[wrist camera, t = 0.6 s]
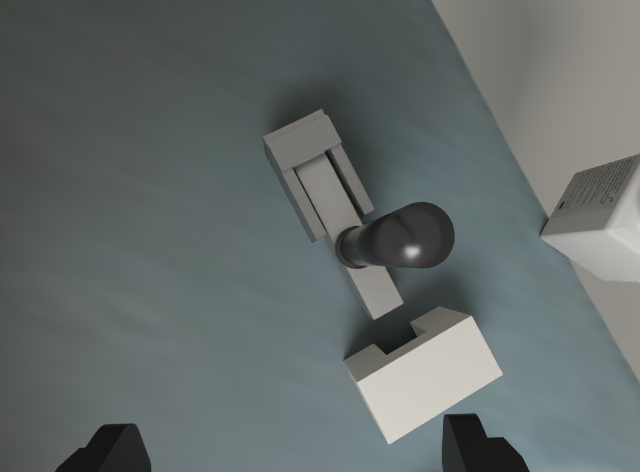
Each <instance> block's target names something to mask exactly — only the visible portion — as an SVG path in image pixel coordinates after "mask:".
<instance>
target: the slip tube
mask: <svg viewBox="0 0 640 472" xmlns="http://www.w3.org/2000/svg"><path fill="white" fill-rule="evenodd" d="M292 169H293V170H294V172H295V174H296V176H297V178H298V180H299V182H300V184H301V186H302V188H303V189H304V191H305V193H306V195H307V197H308V199H309V201H310V203H311V205H312V207H313V209H314V210H315V212H316V214H317V216H318V218H319V220H320V222H321V224H322V226H323V228H324V230H325V231H326V233H327V235H325V237H326V239H327V241H328V243H329V245H330V247H331V249H332V251H333V253H334V255H335V257H336V258H337V260H338V262H339V264H340V266H341V268H342V270H343V272H344V274H345V276H346V278H347V279H348V281H349V283H350V285H351V287H352V289H353V291H354V293H355V295H356V297H357V299H358V300H359V302H360V304H361V306H362V308H363V310H364V312H365V314H366V315H367V316H368V317H370V318H372V319H373V320H375V319H377V318H379V317H380V316H382V315H384V314H386V313H388V312H389V311H391V310H393V309H395V308H396V307H398V306H400V305H402V304H403V303H404V302H403V301H402V299H401V297H400V295H399V293H398V291H397V289H396V287H395V285H394V283H393V281H392V280H391V278H390V276H389V274H388V272H387V270H386V268H385V267H407V268H430V267H433V266H436V265H438V264H440V263H441V262H443V261H444V260H445V259H446V258H447V257H448V255H449V254H450V252H451V250H452V248H453V245H454V238H455V234H454V227H453V224H452V222H451V220H450V218H449V216H448V215H447V214H446V213H445V212H444V211H443V210H442V209H441V208H439V207H438V206H436V205H434V204H431V203H427V202H416V203H412V204H410V205H407V206H405V207H403V208H401V209H398V210H396V211H394V212H392V213H390V214H387V215H385V216H383V217H381V218H378V219H376V220H374V221H372V222H369V223H367V224H365V225H363V224H362V223H361V221H360V219H359V217H358V215H357V213H356V211H355V209H354V207H353V205H352V204H351V202H350V200H349V198H348V196H347V194H346V192H345V190H344V188H343V186H342V185H341V183H340V181H339V179H338V177H337V175H336V173H335V171H334V169H333V167H332V166H331V164H330V162H329V160H328V158H327V156H326V154H325V152H324V153H322V154H320V155H318V156H316V157H314V158H312V159H310V160H308V161H306V162H304V163H302V164H300V165H298V166H296V167H294V168H292Z"/></svg>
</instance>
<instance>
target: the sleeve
mask: <svg viewBox="0 0 640 472" xmlns="http://www.w3.org/2000/svg"><path fill="white" fill-rule="evenodd" d="M263 141H264V148H265V154H266V156H267V158H268V160H269V162H270V164H271V166H272V167H273V169H274V171H275V173H276V175H277V177H278V179H279V181H280V183H281V185H282V187H283V189H284V190H285V192H286V194H287V196H288V198H289V200H290V202H291V204H292V206H293V208H294V210H295V211H296V213H297V215H298V217H299V219H300V221H301V223H302V225H303V227H304V229H305V231H306V232H307V234H308V236H309V238H310V240H311V242H312V243H313V242H314V241H316V240H318V239H320V238H322V237H324V236H325V235H327V233H326V231H325V230H324V228H323V226H322V224H321V222H320V220H319V218H318V216H317V214H316V212H315V210H314V209H313V207H312V205H311V203H310V201H309V199H308V197H307V195H306V193H305V191H304V189H303V188H302V186H301V184H300V182H299V180H298V178H297V176H296V174H295V172H294V170H293V169H292V168H294V167H296V166H298V165H300V164H302V163H304V162H306V161H308V160H310V159H312V158H314V157H316V156H318V155H320V154H322V153H324V152H325V154H326V156H327V158H328V160H329V162H330V164H331V166H332V167H333V169H334V171H335V173H336V175H337V177H338V179H339V181H340V183H341V185H342V186H343V188H344V190H345V192H346V194H347V196H348V198H349V200H350V202H351V204H352V205H353V207H354V209H355V211H356V213H357V215H358V217H359V218H360V217H362V216H364V215H366V214H368V213H369V212H371V211H373V210H375V208H374V207H373V205H372V203H371V201H370V199H369V197H368V195H367V193H366V191H365V189H364V188H363V186H362V184H361V182H360V180H359V178H358V176H357V174H356V172H355V170H354V169H353V167H352V165H351V163H350V161H349V159H348V157H347V155H346V153H345V152H344V150H343V148H342V146H341V143H342V141H341V139H340V137H339V135H338V133H337V132H336V130H335V128H334V126H333V124H332V122H331V120H330V118H329V116H328V115H325V114H324V112H323V110H322V109H320V110H318V111H316V112H314V113H312V114H310V115H308V116H306V117H304V118H302V119H300V120H298V121H295V122H293V123H291V124H289V125H287V126H285V127H283V128H281V129H279V130H276V131H274V132H272V133H270V134H268V135H265V136H263Z"/></svg>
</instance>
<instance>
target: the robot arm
mask: <svg viewBox="0 0 640 472" xmlns="http://www.w3.org/2000/svg"><path fill="white" fill-rule="evenodd" d="M442 466H443V472H530V471H529V469H528V467H527V465H526V463H525V461H524V459H523V457H522V456H521V455H520V454H519V453H518V452H517V451H516V450H515V449H514V448H513V447H512V446H511V445H510V444H509V443H508V442H507V441H506V440H505V439H504V437H495V438H487V435H486V433H485V431H484V428H483V426H482V424H481V421H480V419H479V417H478V416H477V415H476V414H475V413H472V414H445V415H444V419H443V440H442ZM55 472H151V462H150V459H149V457H148V454H147V451H146V448H145V446H144V443H143V440H142V438H141V435H140V432H139V430H138V427H137V426H136V425H135V424H133V423H131V424H106V425H103V426H101V427H100V428H99V429H98V430H97V432H96V433H95V434H94V436H93V437H92V439H91V440H90V442H89V443H88V445H87V446H86V447H85V448H79V449H78V450H77V451H76V452H74V453H73V454H72V455H71V456H70V457H69V458H68V459H67V460H66V461H64V462H63V463H62V464H61V465H60V466H59V467H58V468H57V469H56V471H55Z"/></svg>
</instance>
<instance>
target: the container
mask: <svg viewBox="0 0 640 472" xmlns="http://www.w3.org/2000/svg"><path fill="white" fill-rule="evenodd" d="M540 238H541V239H542V240H543V241H545V242H546V243H548V244H549V245H551V246H552V247H554V248H555V249H557V250H558V251H560V252H561V253H563V254H564V255H565V256H567V257H568V258H570V259H571V260H573V261H574V262H576V263H577V264H579V265H580V266H582V267H583V268H585V269H586V270H587V271H589V272H590V273H592V274H593V275H595V276H596V277H598V278H599V279H601V280H609V281H610V280H611V281H627V282H640V154H638V155H635V156H631V157H628V158H625V159H621V160H618V161H615V162H611V163H608V164H605V165H602V166H598V167H595V168H591V169H588V170H585V171H581V172H578V173H576V174H575V175H574V177H573V178H572V180H571V182H570V184H569V185H568V187H567V189H566V191H565V192H564V194H563V196H562V198H561V199H560V201H559V203H558V205H557V207H556V208H555V210H554V212H553V213H552V215H551V217H550V219H549V220H548V222H547V224H546V226H545V227H544V229H543V231H542V233H541V234H540Z"/></svg>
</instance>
